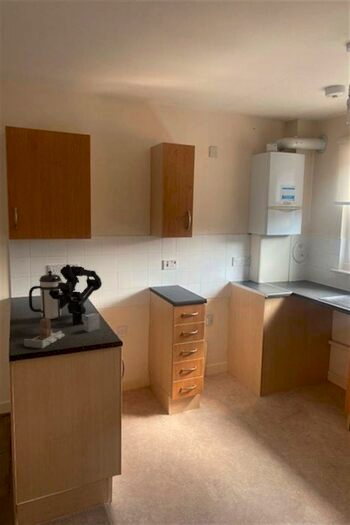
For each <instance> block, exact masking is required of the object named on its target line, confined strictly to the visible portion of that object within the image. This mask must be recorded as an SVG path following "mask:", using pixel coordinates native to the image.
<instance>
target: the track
mask: <svg viewBox="0 0 350 525" xmlns="http://www.w3.org/2000/svg"><path fill="white" fill-rule="evenodd" d="M63 337H65V333H63V331H62V330H59V331H57V332H53V329H51V336H49V337H48V338H46V339H44V340H42V339H39V335H38V336H36V337H34V338H33V337H32V338H31V339H30V338H24V339H23V346H24V347H27V348H37V349H44V348H45V347H47V346H49V345H50V344H52V343H54V342H56V341H57V340H60V339H61V338H63Z"/></svg>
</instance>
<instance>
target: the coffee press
mask: <svg viewBox="0 0 350 525" xmlns="http://www.w3.org/2000/svg"><path fill="white" fill-rule="evenodd" d="M38 281H39V285H33V286H32V287H31V288H30V289H29V292H28V306H29V309H30V310H31V311H32V312H34V313H40V315H41V319H43V318H44V319H50V320H51V319H57V320H58V321H61V320H62V317H61V316H62V314H63V313H62V309H63V308H62V309H60V308H59V306H60V299H53V298H52V297H51V296H50V295H49V291H50V290H57V291H58V292H61V291H60V289H59V288H57V287H58V282H60V283H65V282H64V281H63V280H62V278H61V276H60V275H58V274H53V271H52V270H49V271H48V272H47V274H44V275H41V276H40V277H39V280H38ZM37 289H39V292H40V293H39V294H40V308H38V309H37V308H34V307H33V291H34V290H37Z"/></svg>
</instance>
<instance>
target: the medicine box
mask: <svg viewBox="0 0 350 525" xmlns="http://www.w3.org/2000/svg"><path fill="white" fill-rule="evenodd" d="M100 316H101V314H99V313H96V312H94V313H90V314H86V315H85V314H84V315H83V322H84V324H83V331H84V332H87V333H90V332H93V331H97V330H100V329H101V324H100V323H101V321H100V320H101V318H100Z"/></svg>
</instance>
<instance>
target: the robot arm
mask: <svg viewBox="0 0 350 525" xmlns="http://www.w3.org/2000/svg"><path fill="white" fill-rule="evenodd" d="M59 271H60V272H59V273H60V274H61V275H62V277H63V279H64V280H65V281H66V282H64V283H60V282H58V287H57V288H59V289H60V291H61V292H58V291H57V290H50V291H49V295H50V296H51V297H52V298H53V299H60V306H59V308H60V309H63V308H64V307H65V306H67V307H66V308H67V311H68V314H69V315H71V314H72V315H71V318H72V319H71V320H72V321H70V323H71V324H72V326H77V325H84V320H83V315H85V314H86V310H87V309H86V307H85V305H84V304H85V302H86V301H87V300H88V299H89V298H90V296H91V295H92V294H93V293H94V292H95V291H98V290H99V289H100V288H102V285H103V282H102V279H101V277H100V276H99V275H98V274H97V272H96V270H92V269H87V268H86V269H85V268H84V267H83V266H78V265H77V266H76V265H72V266H71V264H70V265H69V264H66V265H65V266H62V268H61V269H60V270H59ZM84 276H85V277H87V278H86V280H85V282H86V287H85V288H84V290H82V292H80V291H77V290H76V286H77V284H79V283H80V280H79V279H80V278H78V277H84Z"/></svg>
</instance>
